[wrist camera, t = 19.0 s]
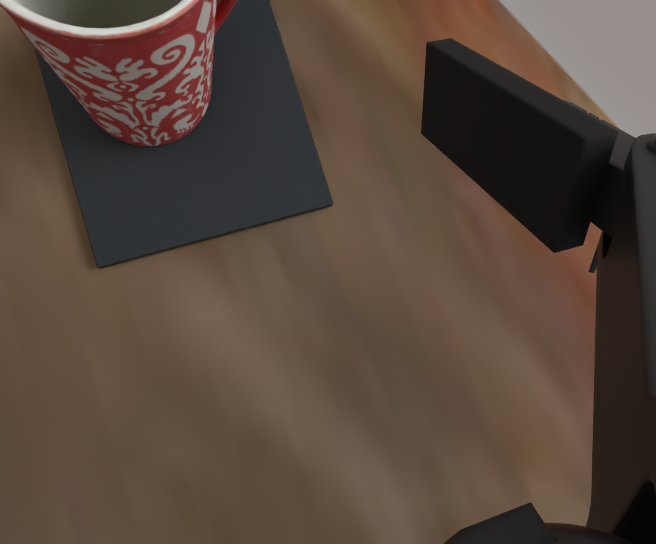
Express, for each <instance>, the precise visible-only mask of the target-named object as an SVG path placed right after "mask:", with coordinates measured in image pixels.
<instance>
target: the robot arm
mask: <svg viewBox="0 0 656 544" xmlns="http://www.w3.org/2000/svg"><path fill="white" fill-rule="evenodd" d="M421 134H422V135H424V136H425V137H426V138H427V139H428V140H429V141H430V142H431V143H432V144H434V145H435V146H436V147H437V148H438V149H439V150H440V151H441V152H442V153H444V154H445V155H446V156H447V157H448V158H449V159H450V160H451V161H452V162H454V163H455V164H456V165H457V166H458V167H459V168H460V169H461V170H462V171H464V172H465V173H466V174H467V175H468V176H469V177H470V178H471V179H472V180H474V181H475V182H476V183H477V184H478V185H479V186H480V187H481V188H482V189H484V190H485V191H486V192H487V193H488V194H489V195H490V196H491V197H492V198H494V199H495V200H496V201H497V202H498V203H499V204H500V205H501V206H502V207H504V208H505V209H506V210H507V211H508V212H509V213H510V214H511V215H512V216H514V217H515V218H516V219H517V220H518V221H519V222H520V223H521V224H522V225H524V226H525V227H526V228H527V229H528V230H529V231H530V232H531V233H532V234H534V235H535V236H536V237H537V238H538V239H539V240H540V241H541V242H542V243H544V244H545V245H546V246H547V247H548V248H549V249H550V250H551V251H552V252H554V253H556V252H560V251H563V250H567V249H570V248H574V247H577V246H581V245H583V243H584V240H585V237H586V234H587V231H588V228H589V224H590V222H592V223H593V224H594V225H596V226H597V227H598V228H600V229H601V230H602V234H601V237H600V240H599V243H598V246H597V249H596V252H595V255H594V258H593V261H592V263H591V266H590V269H589V272H592V273H594V272H595V270H596V268H597V288H596V329H595V370H594V411H593V452H592V494H591V506H590V512H589V517H588V521H587V525H586V527H584V526H578V525H573V524H561V523H544V522H543V520H542V519H541V517H540V516H539V514H538V513H537V511H536V510H535V508H534V507H533V505H532V504H531V502H530V503H528V504H525V505H523V506H520V507H518V508H515V509H512V510H510V511H507V512H505V513H502V514H500V515H497V516H495V517H492V518H489V519H487V520H484V521H482V522H479V523H477V524H474V525H472V526H469V527H466V528H464V529H461V530H460V531H459V532H457V533H456V534H455V535H454V536H452V537H451V538H450V539H449V540H447V541H446V542H445V543H444V544H656V134H646V135H641V136H639V137H637V138H635V137H633V136H631V135H629V134H627V133H625V132H624V131H622V130H620V129H618V128H617V127H615V126H613V125H611V124H609V123H607V122H606V121H604V120H599V118H598V117H597V116H595V115H593V114H591V113H587V111H586V110H584V109H582V108H580V107H578V106H577V105H575V104H573V103H571V102H567V101H564V100H561V99H559V98H557V97H555V96H554V95H552V94H550V93H548V92H547V91H545V90H543V89H541V88H539V87H538V86H536V85H534V84H532V83H530V82H529V81H527V80H525V79H523V78H521V77H520V76H518V75H516V74H514V73H512V72H511V71H509V70H507V69H505V68H503V67H502V66H500V65H498V64H496V63H494V62H493V61H491V60H489V59H487V58H485V57H484V56H482V55H480V54H478V53H477V52H475V51H473V50H471V49H469V48H468V47H466V46H464V45H462V44H460V43H459V42H457V41H455V40H453V39H451V38H450V39H444V40H438V41H432V42H427V45H426V62H425V79H424V95H423V112H422V128H421Z"/></svg>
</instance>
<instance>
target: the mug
mask: <svg viewBox="0 0 656 544" xmlns="http://www.w3.org/2000/svg"><path fill="white" fill-rule="evenodd" d="M236 2H237V0H0V6H1V7H2V8H3V9H5V10H6V11H7V13H8V14H9V15H10V16H11V18H12V19H13V20H14V21H15V23H16V24H17V25H18V27H19V28H20V29H21V31H22V32H23V33H24V35H25V36H26V37H27V38H28V39H29V40H30V42H31V43H32V44H33V45H34V47H35V48H36V49H37V50H38V52H39V53H40V54H41V56H42V57H43V58H44V59H45V60H46V61H47V63H48V64H49V65H50V66H51V67H52V69H53V70H54V71H55V73H56V74H57V75H58V76H59V78H60V79H61V80H62V81H63V82H64V84H65V85H66V86H67V88H68V89H69V90H70V91H71V92H72V94H73V95H74V96H75V97H76V98H77V100H78V101H79V102H80V103H81V105H82V106H83V107H84V109H85V110H86V111H87V112H88V113H89V115H90V116H91V117H92V118H93V120H94V121H95V122H96V123H97V124H98V125H99V126H100V127H101V128H102V129H103V130H104V131H106V132H107V133H108V134H110V135H111V136H113V137H115V138H117V139H119V140H121V141H123V142H126V143H129V144H134V145H138V146H159V145H164V144H168V143H172V142H174V141H176V140H178V139H180V138H182V137H184V136H186V135H187V134H188V133H189V132H191V131H192V130H193V129H194V128H195V127H196V126H197V125H198V123H199V122H200V121H201V119H202V118H203V116H204V114H205V112H206V110H207V108H208V105H209V101H210V96H211V84H212V66H213V47H214V35H215V34H216V32H217V30H218V29H219V27H220V26H221V25H222V23H223V22H224V20H225V19H226V18H227V16H228V14H229V13H230V11H231V10H232V8H233V7H234V5H235V3H236Z"/></svg>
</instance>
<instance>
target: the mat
mask: <svg viewBox="0 0 656 544" xmlns="http://www.w3.org/2000/svg"><path fill="white" fill-rule="evenodd" d="M35 51H36V54H37V58H38V61H39V65H40V68H41V72H42V75H43V79H44V82H45V86H46V89H47V93H48V96H49V100H50V103H51V107H52V110H53V114H54V117H55V121H56V124H57V128H58V131H59V135H60V138H61V142H62V145H63V149H64V152H65V156H66V159H67V163H68V166H69V170H70V174H71V177H72V181H73V184H74V188H75V191H76V195H77V198H78V202H79V205H80V209H81V212H82V216H83V219H84V223H85V226H86V230H87V233H88V237H89V240H90V244H91V247H92V251H93V254H94V258H95V261H96V265H97V267H98V268H104V267H107V266H111V265H115V264H118V263H122V262H126V261H129V260H133V259H137V258H141V257H144V256H148V255H152V254H155V253H159V252H163V251H167V250H170V249H174V248H178V247H181V246H185V245H189V244H193V243H196V242H200V241H204V240H207V239H211V238H215V237H218V236H222V235H226V234H230V233H233V232H237V231H241V230H244V229H248V228H252V227H256V226H259V225H263V224H267V223H270V222H274V221H278V220H282V219H285V218H289V217H293V216H296V215H300V214H304V213H307V212H311V211H315V210H319V209H322V208H326V207H330V206H332V204H333V201H332V198H331V195H330V192H329V188H328V185H327V182H326V179H325V176H324V173H323V169H322V166H321V163H320V160H319V157H318V153H317V150H316V147H315V144H314V141H313V138H312V134H311V131H310V128H309V125H308V122H307V119H306V115H305V112H304V109H303V106H302V103H301V100H300V96H299V93H298V90H297V87H296V84H295V80H294V77H293V74H292V71H291V68H290V65H289V61H288V58H287V55H286V52H285V49H284V46H283V42H282V39H281V36H280V33H279V30H278V26H277V23H276V20H275V17H274V14H273V11H272V7H271V4H270V1H269V0H237V2H236V3H235V5H234V7H233V8H232V10H231V11H230V13H229V14H228V16H227V18H226V19H225V20H224V22H223V23H222V25H221V26H220V27H219V29H218V30H217V32H216V34H215V35H214V47H213V66H212V84H211V96H210V101H209V105H208V108H207V110H206V112H205V114H204V116H203V118H202V119H201V121H200V122H199V123H198V125H197V126H196V127H195V128H194V129H193V130H192V131H191V132H189V133H188V134H187V135H186V136H184V137H182V138H180V139H178V140H176V141H174V142H172V143H168V144H164V145H159V146H138V145H134V144H129V143H126V142H123V141H121V140H119V139H117V138H115V137H113V136H111V135H110V134H108V133H107V132H106V131H104V130H103V129H102V128H101V127H100V126H99V125H98V124H97V123H96V122H95V121H94V120H93V118H92V117H91V116H90V115H89V113H88V112H87V111H86V110H85V109H84V107H83V106H82V105H81V103H80V102H79V101H78V100H77V98H76V97H75V96H74V95H73V94H72V92H71V91H70V90H69V89H68V88H67V86H66V85H65V84H64V82H63V81H62V80H61V79H60V78H59V76H58V75H57V74H56V73H55V71H54V70H53V69H52V67H51V66H50V65H49V64H48V63H47V61H46V60H45V59H44V58H43V57H42V56H41V54H40V53H39V52H38V50H37V49H36V48H35Z"/></svg>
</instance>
